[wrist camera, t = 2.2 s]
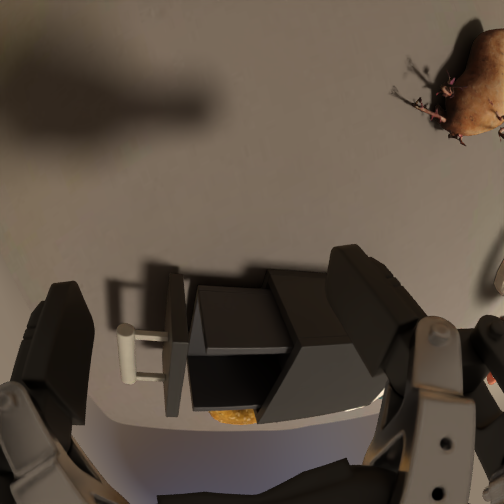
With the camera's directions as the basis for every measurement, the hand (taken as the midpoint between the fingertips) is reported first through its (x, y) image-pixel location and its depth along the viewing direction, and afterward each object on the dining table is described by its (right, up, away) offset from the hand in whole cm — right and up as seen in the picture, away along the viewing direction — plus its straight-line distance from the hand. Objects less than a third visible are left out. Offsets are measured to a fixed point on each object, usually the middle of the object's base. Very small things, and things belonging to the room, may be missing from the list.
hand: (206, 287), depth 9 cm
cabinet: (+8, -7, +26) cm, 28 cm away
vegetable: (+22, +20, +12) cm, 32 cm away
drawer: (-3, -6, +21) cm, 22 cm away
